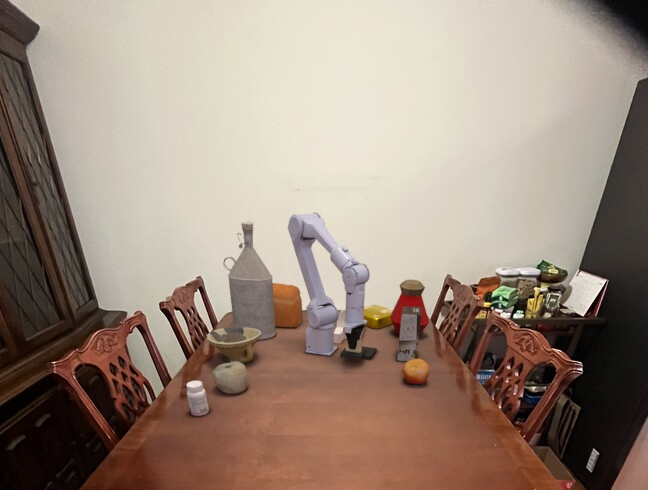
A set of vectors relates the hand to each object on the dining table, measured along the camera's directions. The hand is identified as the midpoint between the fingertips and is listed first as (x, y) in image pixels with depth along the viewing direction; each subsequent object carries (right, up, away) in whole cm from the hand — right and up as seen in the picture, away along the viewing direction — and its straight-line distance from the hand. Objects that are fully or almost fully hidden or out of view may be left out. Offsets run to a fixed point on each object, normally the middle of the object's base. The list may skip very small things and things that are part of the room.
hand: (353, 347), depth 136 cm
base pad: (+3, 0, +10) cm, 10 cm away
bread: (-33, +18, +38) cm, 54 cm away
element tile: (+11, +19, +39) cm, 45 cm away
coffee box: (+19, -2, +7) cm, 20 cm away
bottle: (+23, +10, +26) cm, 36 cm away
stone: (-37, -15, -13) cm, 42 cm away
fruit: (+18, -13, -9) cm, 24 cm away
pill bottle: (-43, -23, -24) cm, 54 cm away
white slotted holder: (0, +10, +25) cm, 27 cm away
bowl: (-39, -3, +5) cm, 40 cm away
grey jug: (-37, +10, +26) cm, 46 cm away
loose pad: (0, -2, +1) cm, 2 cm away
